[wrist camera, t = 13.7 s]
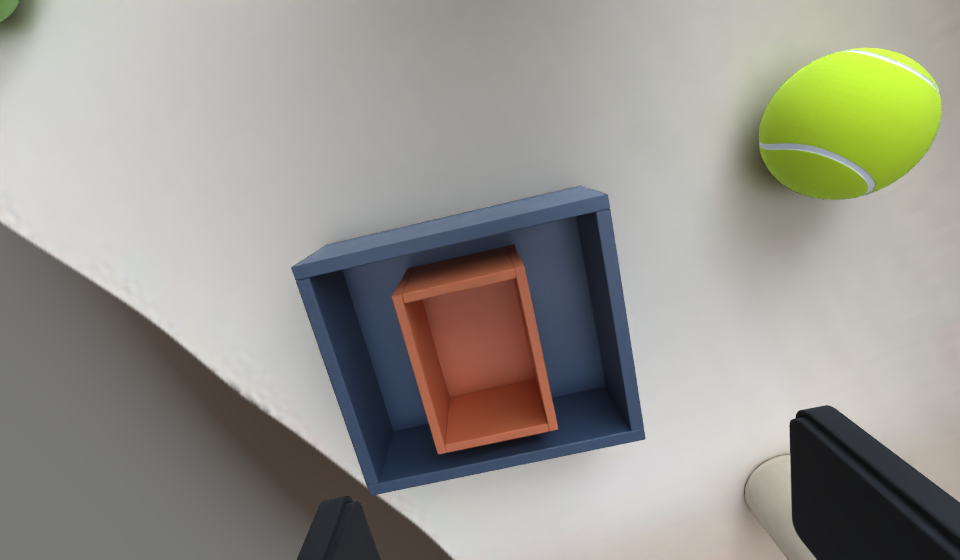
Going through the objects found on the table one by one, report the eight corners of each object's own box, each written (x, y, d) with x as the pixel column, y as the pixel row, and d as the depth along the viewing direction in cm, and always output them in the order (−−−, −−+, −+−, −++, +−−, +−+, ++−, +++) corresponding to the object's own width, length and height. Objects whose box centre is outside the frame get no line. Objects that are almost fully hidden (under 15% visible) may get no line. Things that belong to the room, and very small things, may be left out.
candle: (749, 528, 34) (860, 679, 24) (737, 466, 32) (848, 599, 23) (826, 508, 33) (970, 653, 24) (817, 444, 32) (965, 570, 22)
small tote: (406, 268, 28) (391, 296, 22) (514, 244, 27) (524, 266, 22) (443, 401, 30) (437, 455, 25) (543, 380, 30) (558, 429, 24)
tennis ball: (786, 37, 25) (901, -5, 18) (883, 106, 26) (1025, 90, 20) (708, 154, 27) (787, 155, 20) (802, 214, 28) (907, 235, 21)
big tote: (325, 244, 28) (290, 267, 22) (581, 185, 27) (608, 194, 22) (387, 436, 31) (370, 496, 26) (615, 388, 31) (645, 439, 25)
